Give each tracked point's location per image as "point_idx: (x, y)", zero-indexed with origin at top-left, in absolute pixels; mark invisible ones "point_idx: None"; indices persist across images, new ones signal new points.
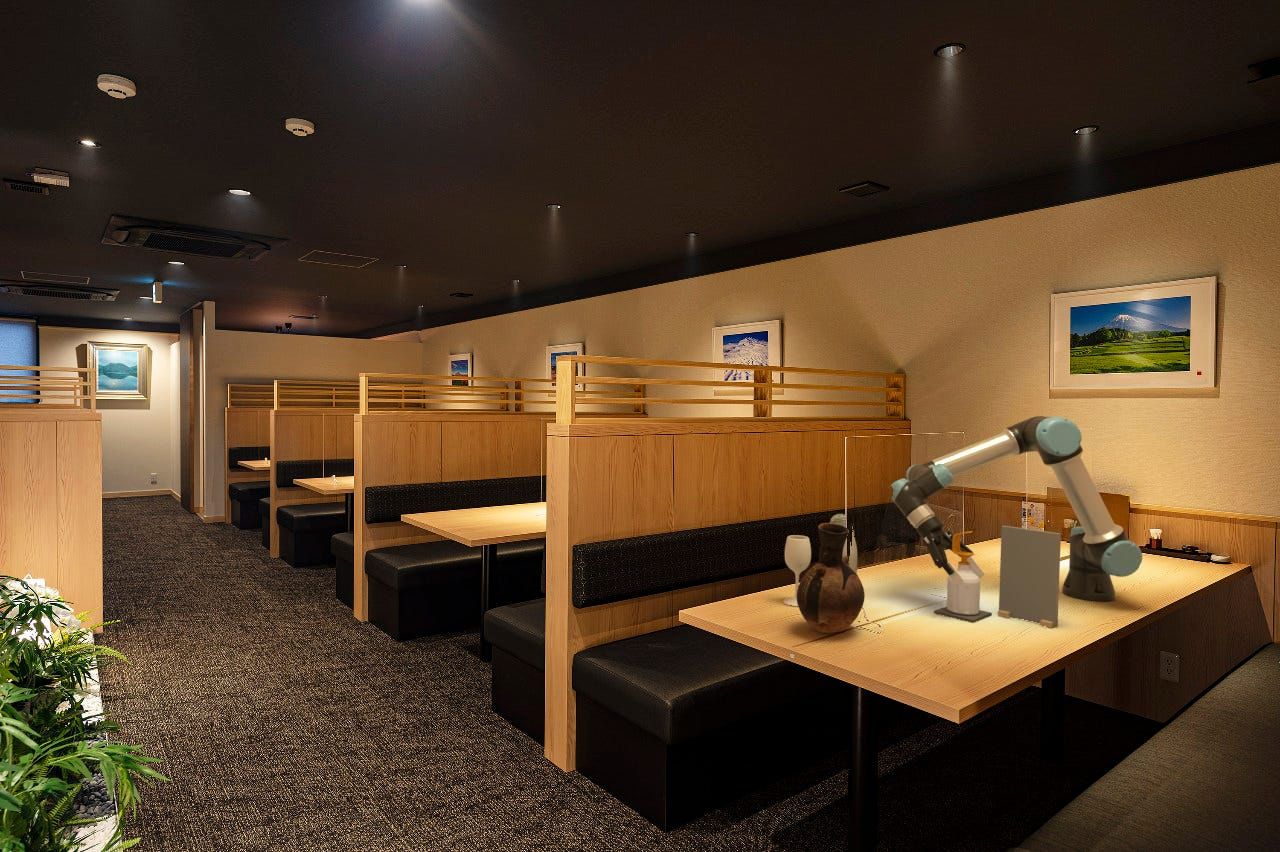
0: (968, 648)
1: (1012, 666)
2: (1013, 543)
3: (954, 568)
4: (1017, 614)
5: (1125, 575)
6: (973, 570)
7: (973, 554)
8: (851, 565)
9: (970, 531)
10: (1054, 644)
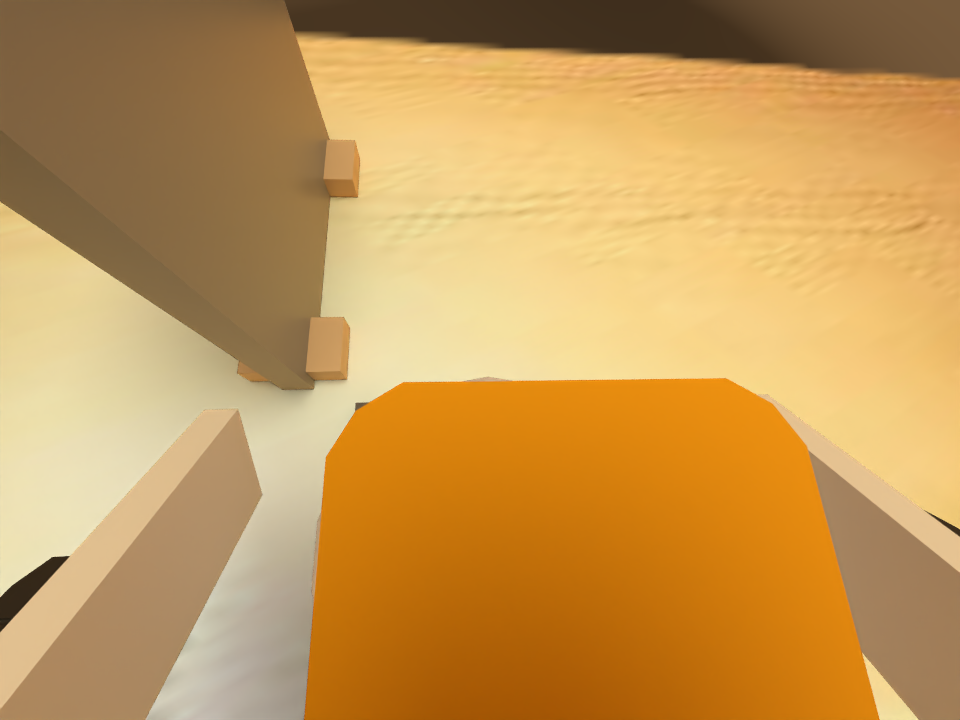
0: (889, 253)
1: (880, 109)
2: None
3: (927, 523)
4: (315, 285)
5: None
6: (205, 572)
7: (455, 385)
8: None
9: None
10: (559, 97)
